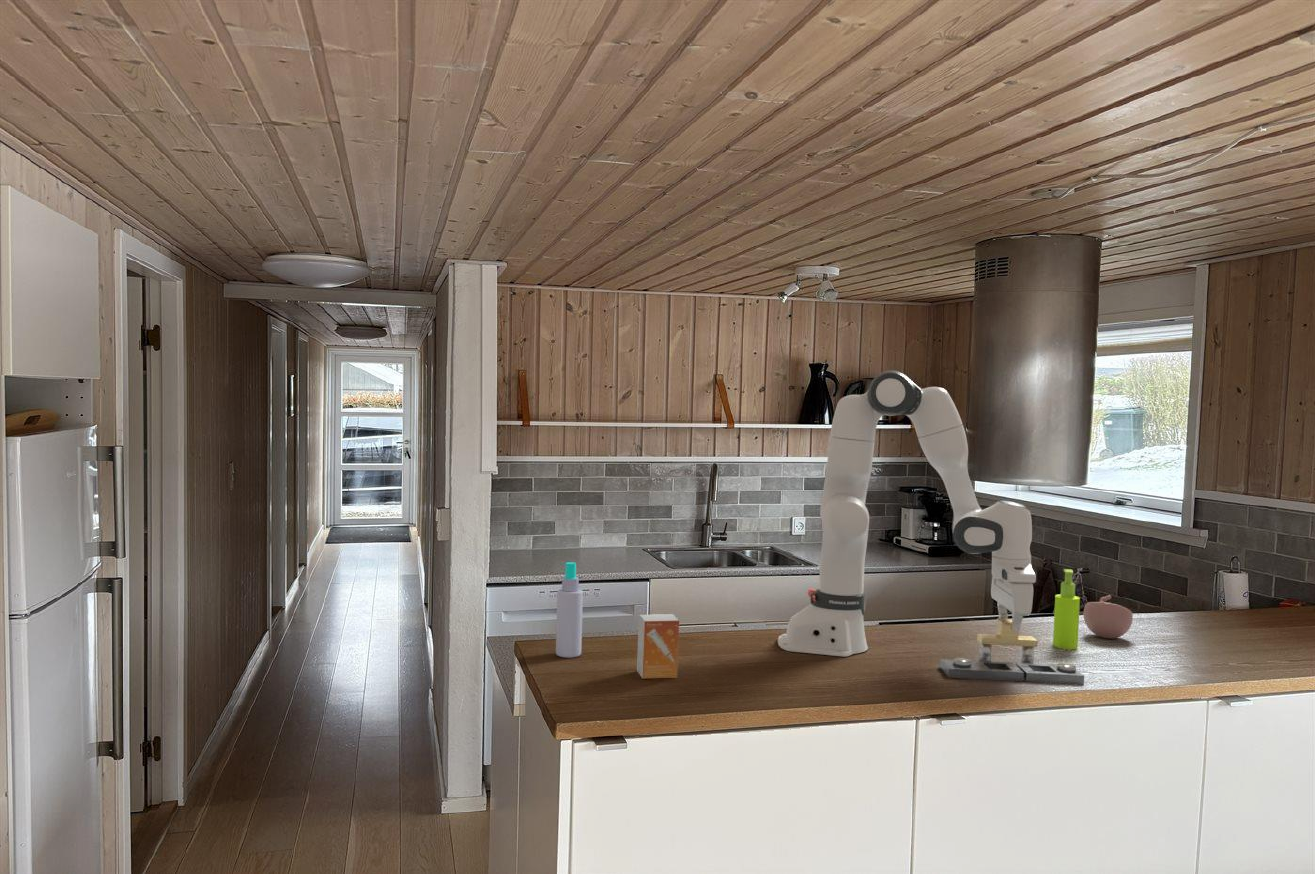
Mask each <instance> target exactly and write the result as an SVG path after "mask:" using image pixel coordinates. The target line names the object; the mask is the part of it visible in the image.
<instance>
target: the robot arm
mask: <svg viewBox="0 0 1315 874" xmlns="http://www.w3.org/2000/svg"><path fill="white" fill-rule="evenodd" d="M835 407H836V408H835V410H834V414H833V417H832V422H831V428H830V437H829V443H828V444H829V445H828V453H827V454H828V455H827V461H826V462H827V463H826V470H825V471H826V472H825V476H824V483H823V487H822V488H823V489H822V496H821V502H820V510H819V512H820V514H819V515H820V519H821V521H822V538H821V539H822V540H821V541H822V542H821V550H820V558H819V585H818V589H814V588H809V589H807V590H808V591H807V595H808V597H809V598H810V599H809V600H810V604H809V605H807V606H806V607H804V608H803V609H802V610H801V609H800V611H798V612H796V613H795V614H794V615H792V616H791V617H790V620H789V621H788V624H787V629H786V633H782V634H781V635H779V636H778V638H777V645H778V646H779V647H780V649H783V651H784V650H785V651H786V652H792V653H793V652H795V653H804V654H806V653H807V654H815V655H826V656H834V657H844V658H845V657H846V658H847V657H849V656H852V655H855V654H861V653H864V652H866V651H867V650H868V649H869V647H868V644H867V643H868V642H867V638H866V633H865V632H866V631H865V624H864V623H865V621H864V615H865V612H866V594H865V592H864V590H865V589H864V586H865V585H864V584H865V583H864V582H865V561H866V554H867V547H868V539H869V527H870V514H869V510H868V508H867V506H866V500H867V493H868V488H869V484H870V480H871V479H870V478H871V475H872V469H873V460H874V452H875V451H874V449H875V443H876V442H875V441H876V432H877V431H876V430H877V425H878V423H879V421H880V420H881V418H882V417H887V416H890V417H891V416H892V417H893V416H894V417H895V416H904V415H905V416H907V417H908V418H909V419H910V421H911V423H912V425H913V427H914V430H915V432H916V437H917V440H918V442H919V444H920V445H919V446H920V447H921V449H922V452H923V454H924V455H925V457H926V459H927V462H928V463H929V464H930V465H931V467H932V468H934V470H935V471H936V472H937V473H938V474H939V477H941V479H942V481H943V484H944V487H945V489H946V492H947V495H948V498H949V501H950V505H951V508H952V512H953V513H952V515H953V516H952V522H951V523H952V524H951V530H952V531H951V532H952V537H953V541H954V543H955V546H957V547H958V549H960V550H961V551H962V552H965V553H967V554H971V555H978V554H983V553H990V552H991V585H990V595H991V598H992V599H993V600H995V601H996V603H997V605H996V606H997V611H998V618H999V619H1009V614H1008V611H1009V612H1010V613H1011V617H1012V618H1011V619H1012V622H1011V629H1012V630H1013V631H1019V632H1020V631H1021V624H1022V621H1023V618H1024V617H1026V616H1027V617H1028V616H1030V615H1031V613H1032V610H1033V603H1034V602H1033V600H1034V599H1033V598H1034V584H1035V583H1036V582H1037V575H1036V573H1035V571H1034V569H1033V566H1032V554H1031V549H1030V548H1031V543H1032V541H1033V524H1032V523H1033V522H1032V521H1033V520H1032V514H1031V511H1030V510H1029V509H1028V507H1027V506H1025V505H1024V504H1021V503H1018V502H1015V501H1010V500H999V501H997V502H995V503H994V504H992V505H990V506H988V507H986V508H982V507H981V505H980V504H979V502H978V499H977V497H976V494H975V493H976V492H975V490H974V488H973V484H972V481H971V478H970V475H969V470H968V460H969V445H968V439H967V435H966V430H965V426H964V424H963V421H962V418H961V416H960V413H959V411H958V409H957V407H956V404H955V402H954V400H953V399H952V397H951V395H950V393H949V392H948V391H947V390H946V389H945V388H943V387H939V386H928V387H924V388H921V387H919V386H918V385H917V384H916V383H915V382H913V380H911V378H910V377H908V376H907V375H906V374H905V373H903V372H900V371H899V370H885V371H883V372H880V373H879V374H877V375H876V376H875V377H874V378H873V379H872V381H871V382H870V384H869V387H868V389H867V391H866V392H865V393H862V394H849V395H846V396H843V397H842V398H840V399H839V400H838V402H837V404H836V406H835Z"/></svg>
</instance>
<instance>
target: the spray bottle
mask: <svg viewBox="0 0 1315 874" xmlns="http://www.w3.org/2000/svg"><path fill="white" fill-rule="evenodd" d="M561 581H562V582H561V588H559V589H558V590H557V593H556V595H557V597H556V625H555V626H556V632H555V636H556V639H555V654H556V656H558V657H561V658H565V659H573V658H577V657H580V656H581V655H582V640H583V639H582V637H583V602H584V601H583V599H584V597H583V596H584V595H583V594H584V591H583V589H581V588H580V582H579V581H580V580H579V577H578V576H577V563H576V562H575V561H568V562H565V571H564V576H563V577H562V580H561Z"/></svg>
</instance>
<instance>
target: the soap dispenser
mask: <svg viewBox="0 0 1315 874" xmlns="http://www.w3.org/2000/svg"><path fill="white" fill-rule="evenodd" d="M1063 573H1064V580H1063V581H1062V582H1061V583H1060V594H1055V596H1054V598H1055V599H1054V612H1053V613H1054V614H1053V615H1054V616H1053V635H1052V637H1053V638H1052V645H1053V646H1052V647H1055V648H1058V649H1062V650H1063V649H1064V650H1076V649H1078V647H1079V646H1078V644H1079V642H1078V641H1079V624H1080V623H1079V621H1080V605H1081V604H1080V602H1081V600H1080V599H1081V598H1080V597H1079V596H1076V583H1074V582H1073V575H1074V571H1073V569H1070V568H1069V569H1068V568H1063Z"/></svg>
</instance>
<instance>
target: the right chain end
mask: <svg viewBox="0 0 1315 874" xmlns="http://www.w3.org/2000/svg"><path fill="white" fill-rule="evenodd" d="M1014 664H1015V665H1016V666H1017V667H1018V668H1019V669H1020V670H1022V671H1023V672H1024V680H1023V681H1025V682H1030V683H1048V684H1049V683H1051V684H1069V685H1070V684H1072V685H1085V675H1084V674H1083V673H1081V672H1080V671H1079V670H1078V669H1077V665H1075V664H1072V663H1067V662H1059V663H1056V664H1048V663H1034V664H1032V663H1021V662H1015V663H1014Z"/></svg>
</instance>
